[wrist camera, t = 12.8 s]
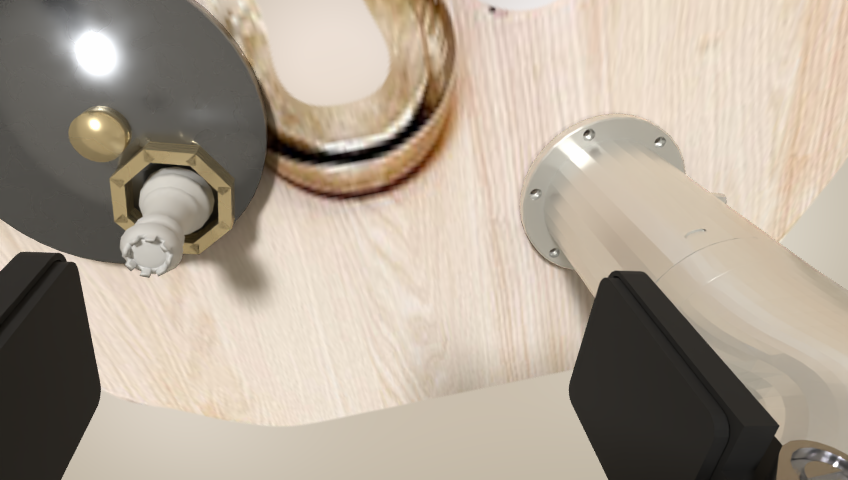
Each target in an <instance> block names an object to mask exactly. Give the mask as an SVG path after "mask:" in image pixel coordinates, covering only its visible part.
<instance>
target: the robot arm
mask: <svg viewBox="0 0 848 480" xmlns="http://www.w3.org/2000/svg"><path fill="white" fill-rule="evenodd" d="M586 130H587V132H586V133H585V134H584V132H585V131H586ZM534 189H535V190H534ZM532 190H534V191H533V192H531V191H532ZM726 202H727V201H726V197H725V195H724V194H721V193H710V192H709V191H707V190H706V189H705V188H703V187H702V186H700V185H699V184H698V183H696V182H695V181H694V180H692V179H691V178H689V177H688V176H687V175H686V172H685V166H684V160H683V157H682V155H681V152H680V150H679V147H678V146H677V145H676V143H675V142H674V140H673V139H672V138H671V136H670V135H668V134H667V133H666V132H665V131H664V130H662V129H661V128H660V127H658V126H657V125H655V124H653V123H652V122H650V121H648V120H646V119H643V118H640V117H637V116H634V115H627V114H607V115H600V116H596V117H593V118H589V119H586V120H583V121H581V122H579V123H577V124H575V125H573V126H571V127H569V128H568V129H566V130H565V131H563V132H562V133H560V134H559V135H558V136H556V137H555V138H554V139H553V140H552V141H551V142H550V143H549V144H548V145H547V146H546V147H545V148H543V150H542V151H541V152H540V154H539V155H538V156H537V158H536V159H535V160H534V162H533V163H532V165H531V167H530V169H529V171H528V173H527V175H526V177H525V180H524V184H523V187H522V190H521V197H520V215H521V222H522V224H523V227H524V230H525V233H526V235H527V236H528V238H529V240H530V242H531V243H532V245H533V246H534V247H535V248H536V250H537V251H538V252H539V253H540V254H541V255H542V256H543V257H544V258H546V259H547V260H548V261H550V262H552V263H554V264H556V265H558V266H560V267H563V268H567V269H571V270H576V272H577V273H578V275H579V276H580V278H581V279H582V280H583V282H584V283H585V285H586V286H587V288H588V289H589V290H590V292H591V293H592V295H593V296H594V298H595V300H594V303H593V307H592V310H591V313H590V317H589V320H588V323H587V327H586V330H585V333H584V337H583V340H582V343H581V347H580V350H579V353H578V357H577V360H576V363H575V367H574V370H573V374H572V377H571V380H570V384H569V396H570V400H571V403H572V405H573V407H574V409H575V411H576V413H577V416H578V418H579V420H580V422H581V424H582V426H583V428H584V430H585V432H586V434H587V436H588V438H589V441H590V443H591V445H592V447H593V449H594V451H595V453H596V455H597V457H598V459H599V461H600V463H601V465H602V467H603V469H604V471H605V474H606V476H607V478H608V480H848V290H846V289H845V288H843V287H842V286H840V285H839V284H837V283H836V282H834V281H833V280H831V279H830V278H828V277H827V276H825V275H824V274H822V273H821V272H819V271H818V270H816V269H815V268H813V267H812V266H810V265H809V264H808V263H806V262H805V261H804V260H802V259H801V258H799V257H798V256H797V255H795V254H794V253H793V252H791V251H790V250H788V249H787V248H786V247H784V246H783V245H782V244H780V243H779V242H777V241H776V240H775V239H773V238H772V237H771V236H769V235H768V234H766V233H765V232H764V231H762V230H761V229H760V228H758V227H757V226H755V225H754V224H753V223H751V222H750V221H749V220H747V219H746V218H744V217H743V216H742V215H740V214H739V213H738V212H736V211H735V210H733V209H732V208H731V207H729V206H728V205H727V204H726ZM100 392H101V386H100V379H99V374H98V369H97V364H96V359H95V354H94V349H93V343H92V338H91V333H90V328H89V323H88V318H87V313H86V307H85V302H84V297H83V292H82V287H81V282H80V276H79V271H78V268H77V266H76V264H75V263H74V262H67V261H66V259H65V257H64V256H63V255H62V254H61V253H43V252H20V253H19V254H17V255H16V256H15V257H14V258H13V259H12V260H11V261H10V262H9V263H8V264H7V265H6V266H5V267H4V268H3V269H2V270H1V271H0V480H61V479H62V477H63V474H64V472H65V470H66V468H67V466H68V464H69V462H70V460H71V458H72V456H73V454H74V452H75V450H76V448H77V446H78V444H79V442H80V440H81V438H82V436H83V434H84V432H85V430H86V428H87V426H88V424H89V422H90V420H91V418H92V416H93V414H94V412H95V410H96V408H97V406H98V403H99V400H100Z"/></svg>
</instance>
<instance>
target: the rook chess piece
mask: <svg viewBox="0 0 848 480" xmlns="http://www.w3.org/2000/svg"><path fill="white" fill-rule="evenodd" d="M214 202H215V200H214V196H213V193H212V189H211V187H210V186H209V185H208V184H207V182H206V181H205V180H204V178H203V177H201V176H199V175H198V174H196V173H195V172H193V171H191V170H189V169H184V168H180V167H167V168H161V169H159V170H158V171H156V172H154V173H152V174H150V176H149V177H148V178H147V180H146V181H145V183H144V184H143V188H142V189H141V191H140V198H139V207H140V210H141V213H142V215H143V217H142V218H140V219H138V220H137V222H136V223H135V225H134V226H132V227H130V228H128V229H127V230H126V231H125V232H124V234H123V235H122V237H121V240H120V250H121V252H122V257H123V258H124V259H125V260H126V261H127V262H126V263H125V266H126V267H127V268H128V269H129V270H130V271H132V270H133V269H134V268H136V269H138V270H140V271H141V274H140V276H143V277H148V278H149V277H150V275H151V274H157V275H158V276H160V275H162V274H164V273H166V272H168V271H170V270H172V269H174V268H176V267H177V265H178V264H179V263H180V261H181V260H182V255H183V247H182V246H183V245H184V239H185V236H184V235H187V234H191V233H192V232H194V231H196V230H198V229H200V228H201V227H202V226H203V225H204V224H205V222H206V221H207V220H208V219H209V216H210V215H211V214H212V212H213V207H214Z"/></svg>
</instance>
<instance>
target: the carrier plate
mask: <svg viewBox="0 0 848 480" xmlns="http://www.w3.org/2000/svg"><path fill="white" fill-rule="evenodd" d="M267 144H268V123H267V115H266V109H265V104H264V99H263V96H262V93H261V90H260V87H259V84H258V81H257V79H256V76H255V74H254V72H253V70H252V68H251V66H250V64H249V62H248V60H247V58H246V57H245V55H244V54H243V52H242V50H241V49H240V47H239V46H238V44H237V43H236V41H235V40H234V39H233V38H232V36H231V35H230V34H229V33H228V31H227V30H226V29H225V28H224V26H223V25H222V24H221V23H220V22H219V21H218V20H217V19H216V18H215V17H214V16H213V15H212V14H211V13H210V12H209V11H208V10H207V9H205V8H204V7H203V6H202V5H200V4H199V3H198V2H196V1H195V0H0V219H1V220H3V221H4V222H6V223H7V224H9V225H10V226H12V227H13V228H15V229H16V230H18V231H19V232H21V233H23V234H25V235H26V236H28V237H30V238H32V239H34V240H36V241H38V242H40V243H42V244H44V245H47V246H49V247H52V248H54V249H56V250H59V251H62V252H65V253H68V254H71V255H75V256H78V257H82V258H87V259H92V260H96V261H102V262H112V263H126V262H127V261H126V260H125V259H124V258H123V257H122V252H121V250H120V240H121V237H122V235H123V234H124V232H125V231H126V230H127V229H128V228H130V227H132V226H134V225H135V223H136V222H137V220H138V219H140V218H142V217H143V215H142V213H141V210H140V207H139V198H140V191H141V189H142V188H143V184H144V183H145V181H146V180H147V178H148V177H149V176H150V174H152V173H154V172H156V171H158V170H159V169H161V168H167V167H180V168H184V169H189V170H191V171H193V172H195V173H196V174H198V175H199V176H201V177H203V178H204V180H205V181H206V182H207V184H208V185H209V186H210V187H211V189H212V193H213V196H214V200H215V202H214V207H213V212H212V214H211V215H210V216H209V219H208V220H207V221H206V222H205V224H204V225H203V226H202V227H201V228H200V229H198V230H196V231H194V232H192V233H191V234H187V235H184V236H185V239H184V245H183V246H182V247H183V255H184V254H200V253H201V252H203V251H204V250H205V249H207V248H208V247H209V246H210V245H212V244H213V243H214V242H215V241H217V240H218V239H219V238H221V237H222V236H223V235H224V234H226V233H227V232H228V231H229V230H231V229H232V226H233V224H234V223H235V221H236V220H237V219H238V218H239V217H240V215H241V214H242V213H243V212H244V211H245V209H246V207H247V206H248V204H249V202H250V201H251V199H252V197H253V196H254V193H255V191H256V189H257V186H258V184H259V181H260V178H261V175H262V171H263V167H264V163H265V159H266V154H267Z"/></svg>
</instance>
